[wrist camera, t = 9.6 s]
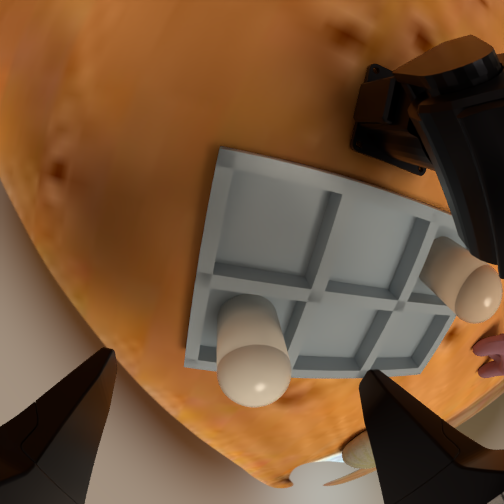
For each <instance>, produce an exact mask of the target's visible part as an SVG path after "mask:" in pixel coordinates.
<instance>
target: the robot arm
mask: <svg viewBox="0 0 504 504" xmlns="http://www.w3.org/2000/svg"><path fill="white" fill-rule="evenodd" d="M373 68H375V69H376V71H377V73H376V74H375V73H374V72H373ZM353 118H354V120H355V125H354V129H353V133H352V137H351V141H350V146H351V148H352V150H354V151H356V152H359V153H362V154H365V155H368V156H370V157H373V158H376V159H379V160H381V161H384V162H387V163H389V164H392V165H394V166H397V167H399V168H402V169H404V170H407V171H409V172H412V173H414V174H416V175H420V176H422V175H423V174H424V173H425V171H426V168H427V169H430V170H434V171H435V172H436V174H437V176H438V179H439V181H440V184H441V186H442V189H443V192H444V194H445V197H446V200H447V203H448V205H449V208H450V211H451V214H452V217H453V220H454V223H455V226H456V230H457V233H458V236H459V237H460V239H461V240H462V241H463V243H464V244H465V246H466V247H467V248H468V249H469V252H470V254H471V255H472V256H474V257H476V258H477V259H479V260H481V261H484V262H487V263H491V264H494V265H498V272H499V277H500V278H501V279H504V53H503V54H496V53H495V51H494V49H493V47H492V46H490V45H489V44H487V43H486V42H484V41H482V40H480V39H479V38H477V37H475V36H473V35H468V36H464V37H461V38H457V39H453V40H450V41H447V42H444V43H441V44H439V45H438V46H436V47H434V48H432V49H430V50H429V51H427V52H425V53H423V54H422V55H420V56H418V57H416V58H415V59H413V60H411V61H409V62H408V63H406V64H404V65H403V66H401V67H399V68H398V69H396V70H394V71H391V70H388V69H386V68H384V67H382V66H380V65H378V64H371V65H369V66H368V68H367V72H366V77H365V82H364V83H363V84H361V86H360V90H359V95H358V99H357V103H356V108H355V112H354V116H353ZM357 141H359V142H360V146H359V147H358V148H357V147H356V142H357ZM419 166H420V171H419V170H418V168H419ZM116 374H117V362H116V356H115V351H114V350H113V349H109V348H105V347H103V348H101V349H100V350H98V351H97V352H96V353H95V354H93V355H92V356H91V357H90V358H88V359H87V360H86V361H84V362H83V363H82V364H81V365H79V366H78V367H77V368H76V369H74V370H73V371H72V372H71V373H69V374H68V375H67V376H66V377H65V378H63V379H62V380H61V381H60V382H58V383H57V384H56V385H55V386H53V387H52V388H51V389H50V390H48V391H47V392H46V393H45V394H43V395H42V396H41V397H40V398H39V399H37V400H36V403H35V402H34V403H33V404H31V405H30V406H29V407H28V408H26V409H25V410H24V411H22V412H21V413H20V414H19V415H17V416H16V417H14V418H13V419H11V420H10V421H8V422H7V423H5V424H3V425H2V426H0V504H84V503H85V498H86V494H87V489H88V485H89V481H90V477H91V473H92V469H93V465H94V461H95V458H96V454H97V450H98V447H99V443H100V440H101V436H102V433H103V429H104V426H105V423H106V419H107V416H108V413H109V409H110V404H111V399H112V394H113V389H114V383H115V379H116ZM359 392H360V398H361V404H362V410H363V417H364V422H365V426H366V430H367V434H368V437H369V441H370V445H371V449H372V453H373V457H374V461H375V465H376V469H377V473H378V477H379V482H380V486H381V490H382V495H383V500H384V504H504V450H492V449H487V448H485V447H483V446H481V445H480V444H478V443H477V442H475V441H473V440H472V439H470V438H469V437H467V436H465V435H464V434H462V433H461V432H459V431H458V430H456V429H455V428H454V427H452V426H451V425H449V424H448V423H447V422H445V421H444V420H443V419H441V418H440V417H439V416H438V415H436V414H435V413H434V412H433V411H431V410H430V409H429V408H427V407H426V406H425V405H424V404H422V403H421V402H420V401H418V400H417V399H416V398H415V397H413V396H412V395H411V394H409V393H408V392H407V391H406V390H404V389H403V388H402V387H401V386H399V385H398V384H397V383H395V382H394V381H393V380H392V379H390V378H389V377H388V376H387V375H385V374H384V373H383V372H382V371H380V370H379V369H370V370H368V371H367V372H366V374H365V376H364V377H363V379H362V381H361V382H360V385H359Z"/></svg>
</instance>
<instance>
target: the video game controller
mask: <svg viewBox="0 0 504 504" xmlns="http://www.w3.org/2000/svg"><path fill="white" fill-rule="evenodd" d="M473 353H474V354H475V355H477V356H487V355H489V357H490V358H492V359H493V360H494V361H491V362H488V363H486V364H484V365H483V366H482V367H480V368H479V370H478V374H479V376H480V377H483V378H489V377H494V376H501V375H504V334H500V335H497V336H491V337H487V338H484V339H482V340H480V341H478V342H477V343H476V344H475V345H474V346H473Z"/></svg>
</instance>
